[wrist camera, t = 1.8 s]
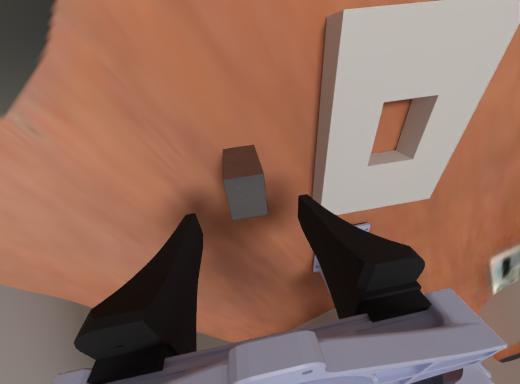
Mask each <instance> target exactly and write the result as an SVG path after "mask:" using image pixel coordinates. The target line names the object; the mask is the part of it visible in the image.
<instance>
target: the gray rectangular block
mask: <svg viewBox="0 0 520 384" xmlns="http://www.w3.org/2000/svg"><path fill="white" fill-rule="evenodd" d="M223 182H224V186H225V190H226V194H227V199H228V203H229V207H230V211H231V216H232V220H238V219H244V218H250V217H256V216H262V215H268V213H267V202H266V191H265V180H264V172H263V170H262V167H261V164H260V161H259V158H258V155H257V152H256V150H255V147H254V145H248V146H241V147H234V148H228V149H223Z"/></svg>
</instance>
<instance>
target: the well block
mask: <svg viewBox="0 0 520 384" xmlns="http://www.w3.org/2000/svg"><path fill="white" fill-rule="evenodd" d="M519 24H520V0H441V1H430V2H419V3H409V4H398V5H388V6H377V7H367V8H356V9H346V10H342V11H340V12H337V13H335V14H333V15H330V16H328V17H327V21H326V34H325V46H324V58H323V71H322V83H321V96H320V108H319V120H318V133H317V145H316V157H315V170H314V182H313V195H312V199H314V200H315V201H316V202H318V203H319V204H320V205H322V206H323V207H324V208H326V209H327V210H329V211H330V212H332V213H333V214H335V215H339V214H345V213H350V212H356V211H361V210H367V209H373V208H378V207H384V206H389V205H395V204H401V203H406V202H412V201H418V200H423V199H429V198H430V196H431V194H432V192H433V190H434V188H435V186H436V185H437V183H438V181H439V179H440V177H441V175H442V173H443V171H444V169H445V167H446V165H447V163H448V161H449V159H450V157H451V155H452V154H453V152H454V150H455V148H456V146H457V144H458V142H459V140H460V138H461V136H462V134H463V132H464V130H465V128H466V126H467V124H468V123H469V121H470V119H471V117H472V115H473V113H474V111H475V109H476V107H477V105H478V103H479V101H480V99H481V97H482V95H483V93H484V91H485V90H486V88H487V86H488V84H489V82H490V80H491V78H492V76H493V74H494V72H495V70H496V68H497V66H498V64H499V62H500V60H501V59H502V57H503V55H504V53H505V51H506V49H507V47H508V45H509V43H510V41H511V39H512V37H513V35H514V33H515V31H516V29H517V28H518V26H519ZM412 98H413V99H412ZM405 99H412V102H411V105H410V108H409V111H408V114H407V117H406V120H405V123H404V126H403V129H402V132H401V135H400V138H399V141H398V144H397V147H396V150H392V151H386V152H380V153H373V154H371V151H372V147H373V143H374V139H375V135H376V131H377V127H378V123H379V119H380V116H381V112H382V108H383V104H384V102H390V101H398V100H405Z"/></svg>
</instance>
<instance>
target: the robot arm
mask: <svg viewBox="0 0 520 384" xmlns="http://www.w3.org/2000/svg"><path fill="white" fill-rule="evenodd" d="M298 219H299V222H300V225H301V227H302V230H303V232H304V234H305V236H306V238H307V240H308V242H309V244H310V246H311V248H312V250H313V251H314V253H315V254H314V263H313V272H320V274H321V276H322V278H323V280H324V283H325V285H326V287H327V289H328V291H329V294H330V296H331V298H332V300H333V303H334V306H335V309H336V312H337V315H338V318H339V320H334V321H330V322H325V323H321V324H316V325H312V326H307V327H303V328H299V329H294V330H290V331H285V332H281V333H276V334H272V335H267V336H263V337H258V338H254V339H249V340H245V341H240V342H236V343H231V344H227V345H222V346H218V347H213V348H209V349H205V350H200V351H196V311H197V286H198V277H199V270H200V264H201V257H202V250H203V233H202V230H201V227H200V225H199V222H198V219H197V217H196V214H195V213H194V214H188V215H186V216H185V217H184V218H183V220H182V221H181V223H180V224H179V226H178V227H177V228H176V230H175V231H174V233H173V234H172V235H171V237H170V238H169V239H168V241H167V242H166V243H165V245H164V246H163V247H162V248H161V250H160V251H159V252H158V253H157V254H156V255H155V256H154V257H153V258H152V260H151V261H150V262H149V263H148V264H147V265H146V266H145V267H144V268H143V269H141V270H140V271H139V272H138V273H137V274H136V275H135V276H134V277H133V278H132V279H131V280H129V281H128V282H127V283H126V284H125V285H123V286H122V287H121V288H120V289H118V290H117V291H116V292H115V293H113V294H112V295H111V296H109V297H108V298H107V299H105V300H104V301H103V302H101V303H100V304H98V305H97V306H96V307H94V308H93V309H92V310H91V311H90V313H89V314H88V316H87V318H86V320H85V322H84V324H83V325H82V327H81V329H80V331H79V333H78V335H77V337H76V339H75V341H74V344H75V347H76V349H78V350H79V351H80V352H82V353H84V354H86V355H88V356H90V357H91V358H93V359H95V360H96V361H95V364H94V366H93V368H92V369H91V368H84V369H79V370H74V371H70V372H65V373H60V374H58V375H57V376H56V377H55V379H54V381H53V383H52V384H410V383H411V384H495V383H494V382H493V380H492V379H491V373H490V372H489V371H488V370H487V368H486V367H485V365H484V364H483V363H482V362H481V361H482V360H484V359H486V358H488V357H490V356H491V355H493V354H495V353H497V352H499V351H501V350H502V349H504V348H506V347H507V344H506V343H505V342H504V341H503V340H502V339H501V338H500V337H499V336H498V335H497V334H496V333H495V332H494V331H493V330H492V329H491V328H490V327H489V326H488V325H487V324H486V323H485V322H484V321H483V320H482V319H481V318H480V317H479V316H478V315H477V314H476V313H475V312H474V311H473V310H472V309H471V308H470V307H469V306H468V305H467V304H466V303H465V302H464V301H463V300H462V299H461V298H460V297H459V296H458V295H457V294H456V293H455V292H454V291H453V290H452V289H451V288H446V289H442V290H437V291H433V292H429V293H427V294H424V293H423V292H422V291H421V290H419V289H421V286H420V284H419V283H418V282H417V281H416V280H417V279H418V277H419V276H420V274H421V273H422V271H423V269H424V267H425V262H424V260H423V259H422V258H421V257H420V256H419V255H418V254H417V253H416V252H415V251H414V250H413V249H412V248H411V247H410V246H407V245H404V244H400V243H397V242H394V241H390V240H387V239H385V238H382V237H379V236H376V235H374V234H371V233H369V229H370V226H371V225H370V224H369V223H364V224H359V225H352V224H350V223H348V222H346V221H345V220H343V219H341V218H339V217H338V216H336V215H335V214H333V213H332V212H330V211H329V210H327V209H326V208H324V207H323V206H322V205H320V204H319V203H318V202H316V201H315V200H314V199H312V198H311V197H310V196H309V195H307V194H306V195H300V196H299V199H298Z"/></svg>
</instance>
